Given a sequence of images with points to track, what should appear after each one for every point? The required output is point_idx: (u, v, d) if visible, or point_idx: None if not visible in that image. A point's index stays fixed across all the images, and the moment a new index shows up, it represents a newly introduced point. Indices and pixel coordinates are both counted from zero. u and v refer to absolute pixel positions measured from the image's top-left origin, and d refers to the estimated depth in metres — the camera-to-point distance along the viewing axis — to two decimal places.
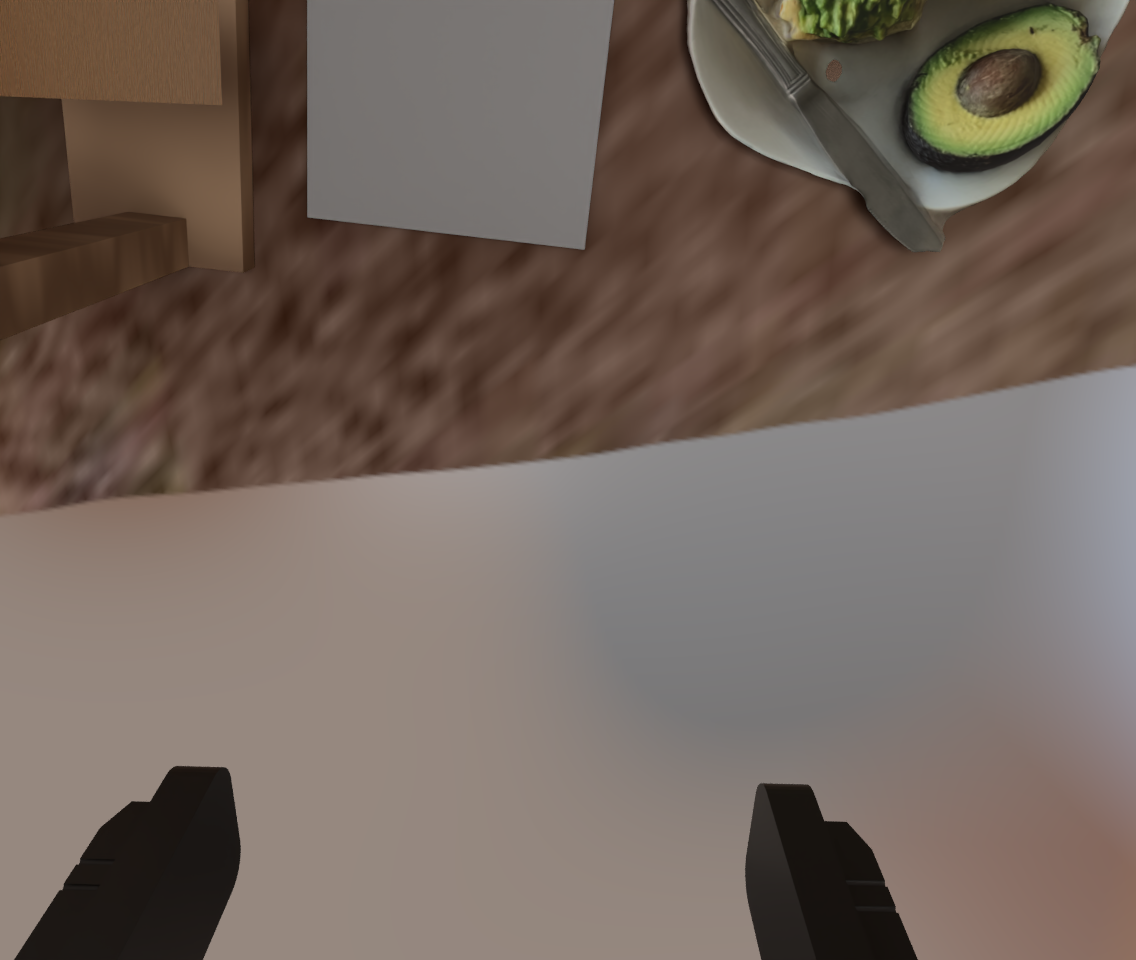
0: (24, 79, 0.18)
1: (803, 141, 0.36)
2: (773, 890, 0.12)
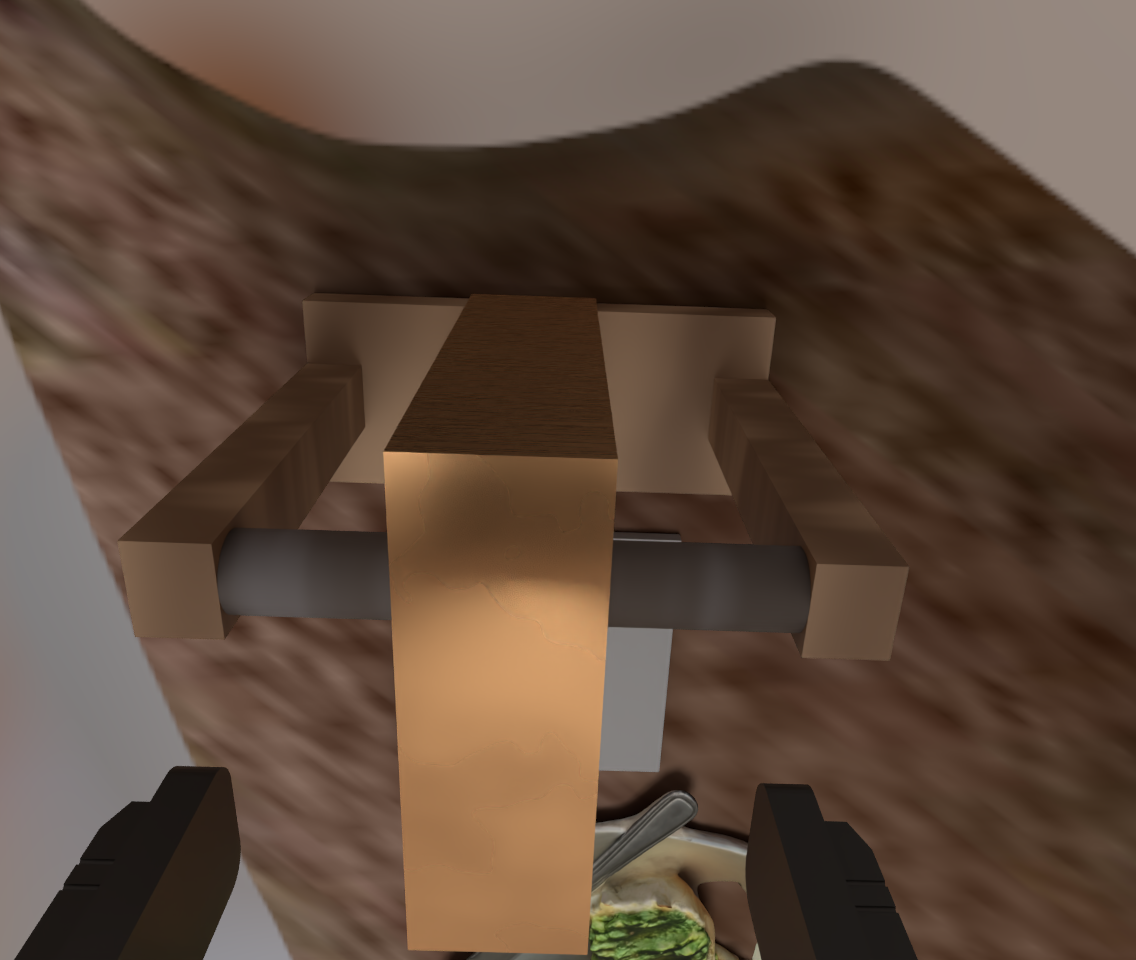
0: None
1: None
2: (773, 890, 0.12)
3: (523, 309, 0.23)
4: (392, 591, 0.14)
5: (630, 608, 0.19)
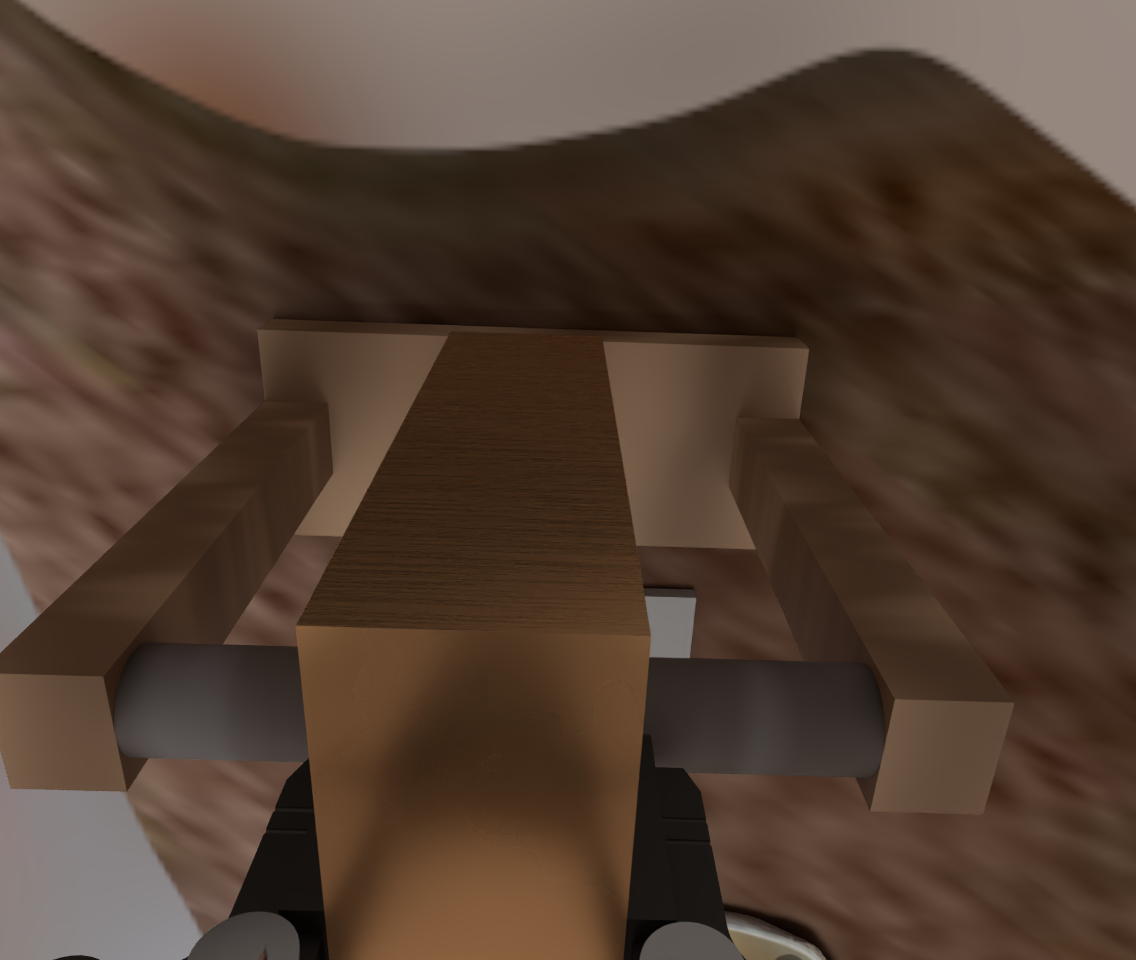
0: None
1: None
2: None
3: (513, 354, 0.18)
4: (317, 814, 0.09)
5: None
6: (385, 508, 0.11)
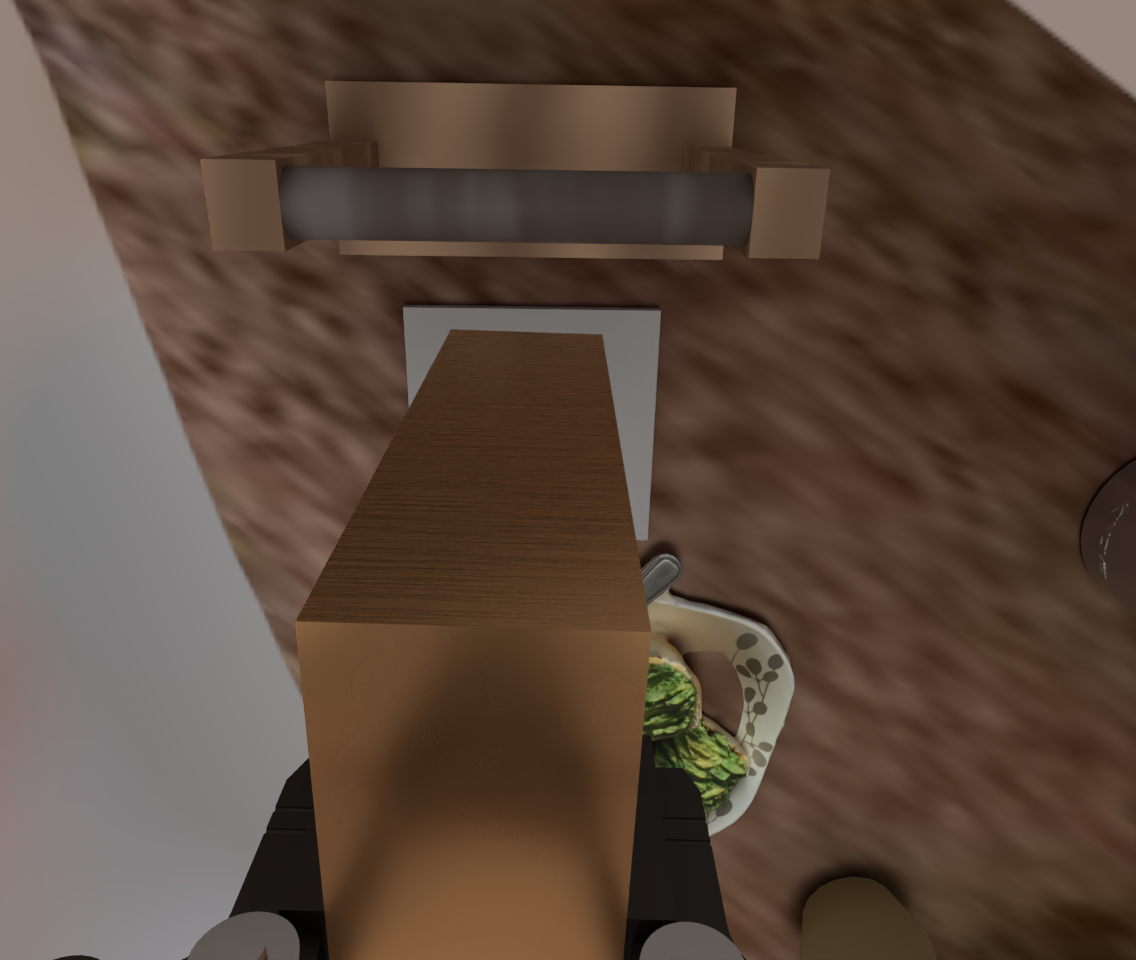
0: None
1: None
2: None
3: (513, 352, 0.18)
4: (317, 810, 0.09)
5: (610, 214, 0.24)
6: (385, 505, 0.11)
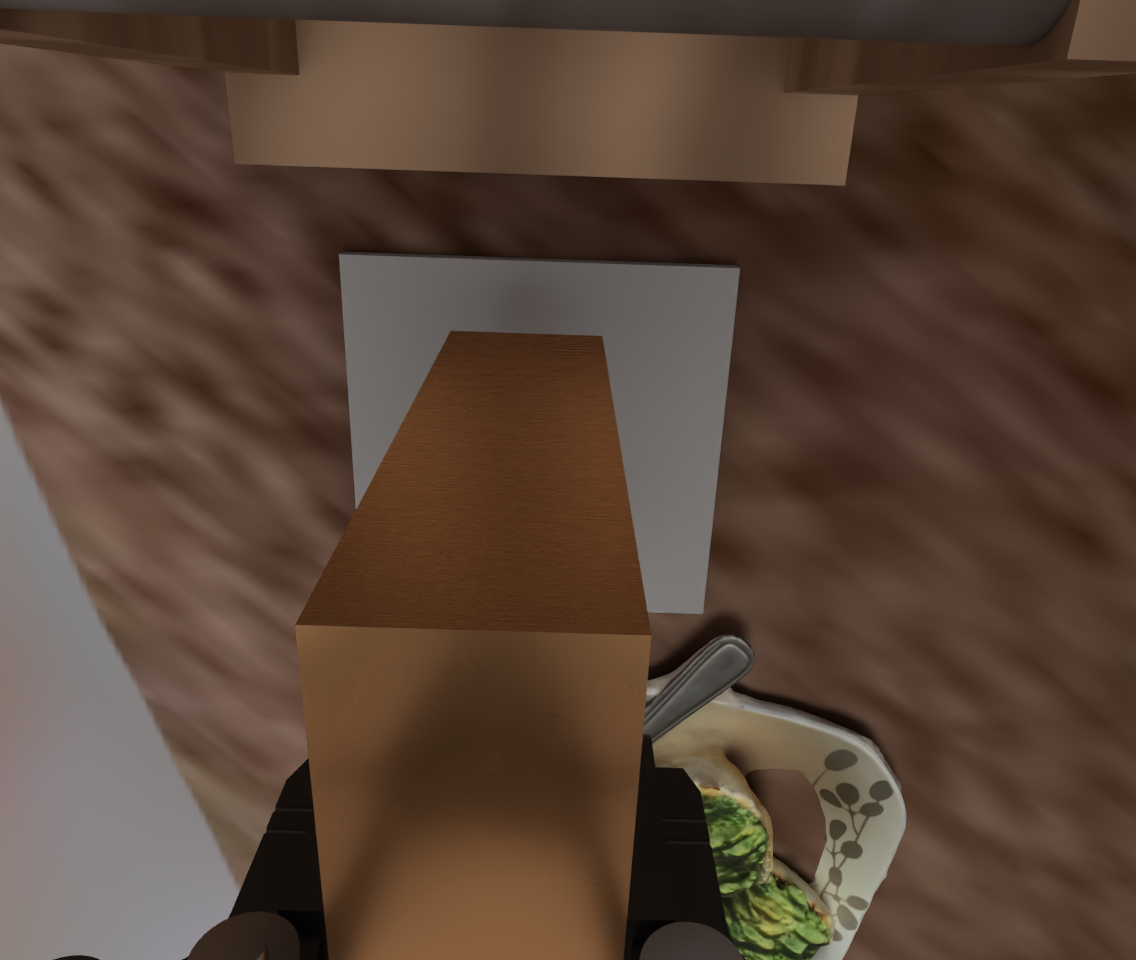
0: None
1: None
2: None
3: (513, 354, 0.18)
4: (317, 813, 0.09)
5: None
6: (385, 507, 0.11)
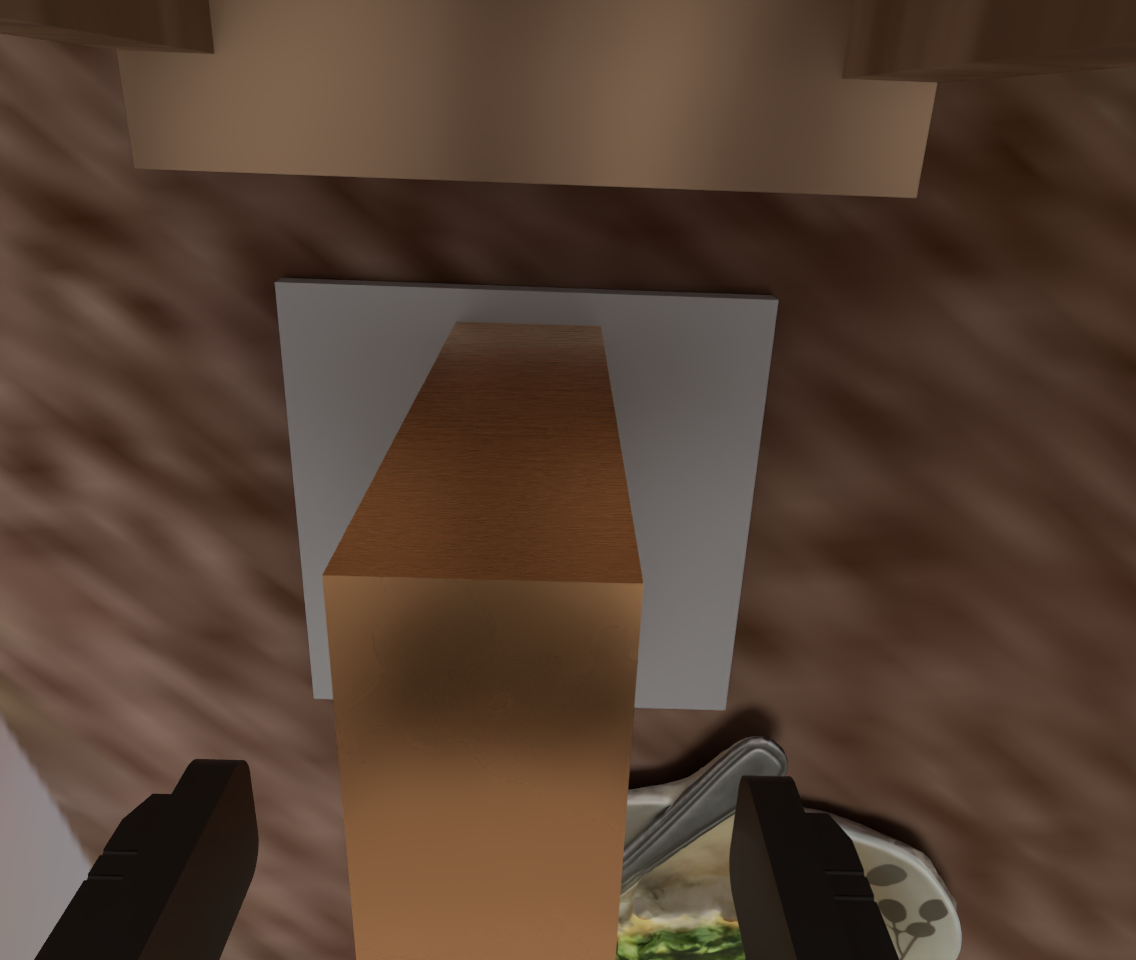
0: None
1: None
2: (754, 880, 0.12)
3: (516, 342, 0.19)
4: (340, 751, 0.10)
5: None
6: (399, 477, 0.12)
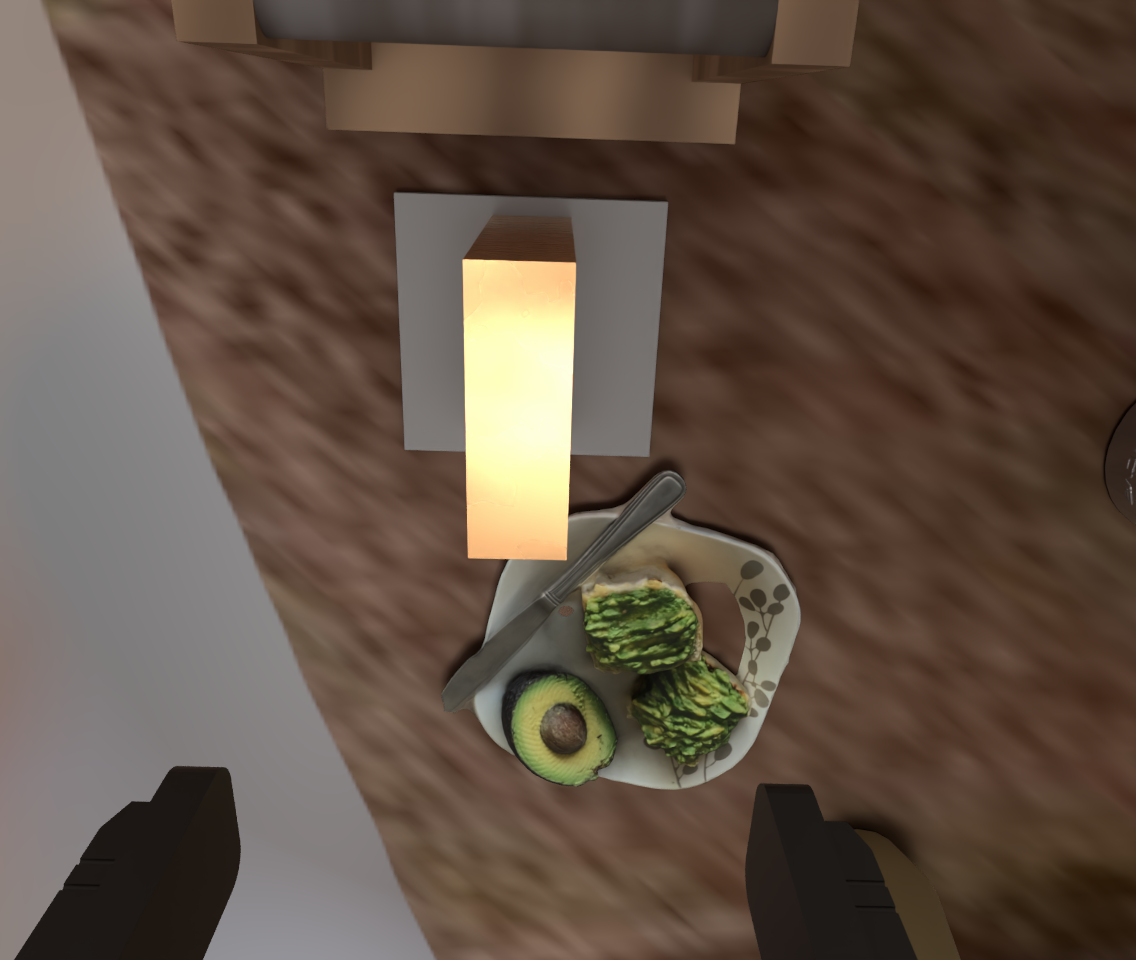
0: None
1: (512, 605, 0.45)
2: (773, 890, 0.12)
3: (525, 221, 0.37)
4: (465, 335, 0.28)
5: (619, 7, 0.22)
6: (481, 246, 0.29)
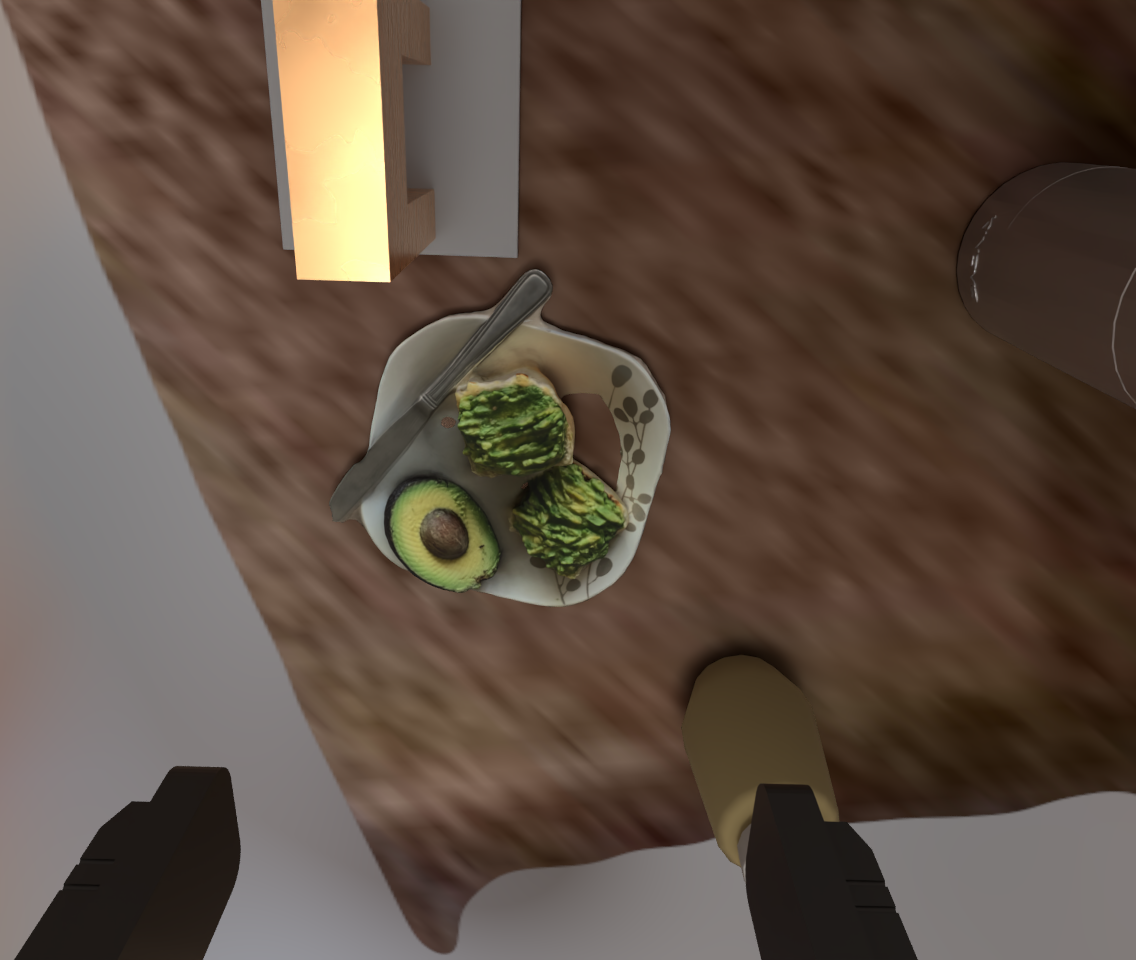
0: None
1: (393, 410, 0.47)
2: (773, 890, 0.12)
3: None
4: (277, 41, 0.30)
5: None
6: None
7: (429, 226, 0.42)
